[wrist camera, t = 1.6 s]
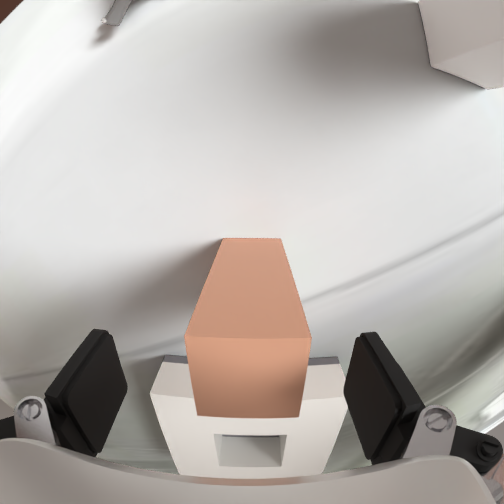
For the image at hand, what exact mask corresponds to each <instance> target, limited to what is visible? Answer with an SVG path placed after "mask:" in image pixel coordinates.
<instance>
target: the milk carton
mask: <svg viewBox="0 0 504 504" xmlns="http://www.w3.org/2000/svg"><path fill="white" fill-rule="evenodd" d="M418 4H419V9H420V13H421V17H422V21H423V26H424V30H425V35H426V41H427V46H428V52H429V58H430V64H431V67H433V68H436V69H439V70H442V71H444V72H447V73H450V74H452V75H455V76H457V77H460V78H462V79H465V80H467V81H470V82H472V83H474V84H476V85H479V86H481V87H483V88H485V89H487V90H489V89H494V88H500V87H504V0H419V1H418Z"/></svg>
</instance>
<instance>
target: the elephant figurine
mask: <svg viewBox="0 0 504 504" xmlns="http://www.w3.org/2000/svg"><path fill="white" fill-rule="evenodd" d="M131 1H132V0H115V2H114V4H113V6H112V8H111V9H110V11H109V13H108V14H107V16H106V17H105V18H103V19H102V20H101V21H102V23H104V24H109V25H115V26H119V25H120V23H121V21H122V19H123V17H124V15H125V13H126V10H127V8H128V6H129V4H130V2H131Z"/></svg>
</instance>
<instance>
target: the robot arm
mask: <svg viewBox="0 0 504 504" xmlns="http://www.w3.org/2000/svg"><path fill="white" fill-rule="evenodd" d="M126 393H127V382H126V379H125V376H124V373H123V370H122V367H121V364H120V361H119V357H118V354H117V350H116V347H115V343H114V340H113V337H112V335H111V334H109V332H108V331H106V330H99V329H93V330H92V331H91V332H90V334H89V335H88V336H87V337H86V339H85V340H84V341H83V342H82V344H81V345H80V346H79V348H78V349H77V350H76V351H75V353H74V354H73V355H72V357H71V358H70V359H69V361H68V362H67V363H66V365H65V366H64V367H63V369H62V370H61V371H60V373H59V374H58V375H57V377H56V378H55V380H54V381H53V382H52V384H51V385H50V387H49V388H48V389H47V391H46V392H45V396H46V397H45V399H44V400H43V399H42V398H40V397H38V396H28V397H25V398H23V399H21V400H20V401H19V402H18V403H17V404H16V406H15V408H14V416H12V417H9V418H5V419H2V420H0V504H504V454H503V449H502V445H501V443H500V442H499V441H498V440H497V439H496V438H494V437H492V436H490V435H486V434H483V433H479V432H476V431H473V430H470V429H466V428H463V427H460V426H457V425H456V417H455V415H454V413H453V412H452V411H451V410H450V409H448V408H447V407H444V406H442V405H430V406H428V407H425V405H424V404H423V402H422V400H421V399H420V397H419V396H418V394H417V392H416V391H415V389H414V388H413V386H412V384H411V383H410V381H409V380H408V378H407V376H406V375H405V373H404V372H403V370H402V369H401V367H400V366H399V364H398V363H397V362H396V361H395V359H394V358H393V356H392V355H391V353H390V352H389V350H388V349H387V347H386V346H385V344H384V343H383V341H382V340H381V338H380V337H379V335H378V334H377V333H376V332H368V333H361V335H360V337H357V338H356V340H355V344H354V348H353V352H352V357H351V361H350V365H349V369H348V373H347V376H346V380H345V384H344V388H343V394H344V397H345V400H346V403H347V406H348V408H349V411H350V414H351V417H352V419H353V422H354V425H355V428H356V431H357V434H358V436H359V439H360V442H361V445H362V448H363V451H364V454H365V457H366V459H368V460H369V459H371V462H372V465H371V466H366V467H361V468H356V469H350V470H344V471H338V472H332V473H325V474H317V475H309V476H299V477H286V478H266V479H230V478H210V477H197V476H187V475H179V474H171V473H164V472H158V471H152V470H146V469H141V468H136V467H131V466H127V465H122V464H118V463H114V462H110V461H106V460H103V459H99V458H96V455H97V453H100V452H101V451H102V449H103V446H104V444H105V442H106V439H107V437H108V434H109V432H110V430H111V427H112V425H113V422H114V420H115V418H116V415H117V413H118V411H119V409H120V406H121V404H122V402H123V400H124V397H125V395H126Z"/></svg>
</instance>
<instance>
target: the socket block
mask: <svg viewBox="0 0 504 504" xmlns="http://www.w3.org/2000/svg"><path fill="white" fill-rule="evenodd" d="M345 380H346V379H345V376H344V373H343V371H342V368H341V365H340V363H339V360H338V357H326V358H309V360H308V367H307V373H306V380H305V386H304V392H303V397H302V403H301V409H300V414H299V417H297V418H223V417H207V416H197V411H196V406H195V401H194V395H193V390H192V384H191V378H190V372H189V365H188V359H187V357H186V356H173V355H165V357H164V360H163V362H162V365H161V367H160V369H159V372H158V374H157V377H156V379H155V381H154V384H153V386H152V389H151V391H150V396H151V399H152V402H153V406H154V409H155V412H156V415H157V418H158V421H159V423H160V426H161V429H162V432H163V435H164V437H165V440H166V443H167V445H168V448H169V450H170V453H171V455H172V458H173V460H174V463H175V465H176V467H177V470H178V472H179V474H180V475H187V476H197V477H210V478H230V479H266V478H286V477H299V476H309V475H317V474H322V473H323V471H324V468H325V466H326V464H327V461H328V459H329V457H330V454H331V452H332V449H333V447H334V444H335V442H336V439H337V437H338V434H339V431H340V429H341V426H342V423H343V420H344V417H345V415H346V412H347V409H348V406H347V403H346V400H345V397H344V394H343V388H344V384H345Z"/></svg>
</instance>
